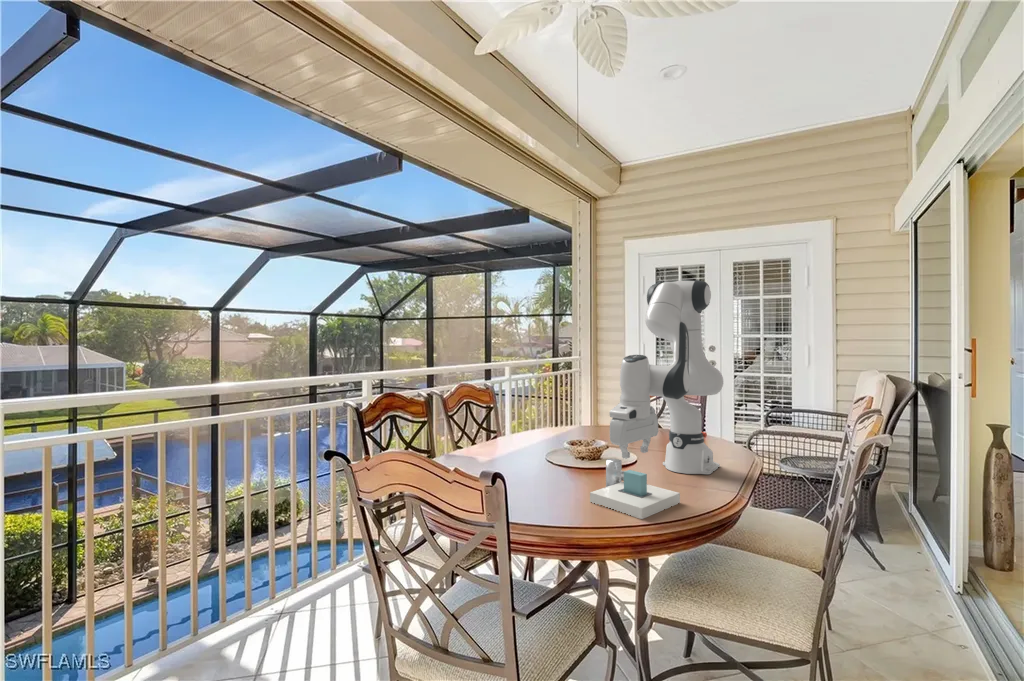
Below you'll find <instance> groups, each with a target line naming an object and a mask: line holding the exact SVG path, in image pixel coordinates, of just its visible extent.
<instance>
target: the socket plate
mask: <svg viewBox="0 0 1024 681" xmlns="http://www.w3.org/2000/svg"><path fill="white" fill-rule="evenodd" d="M591 502H592V503H591ZM589 503H591V504H594V503H595V504H594V505H597V504H599V505H598V506H600V505H603V506H605V507H604V508H606V507H608V508H607V509H609V508H611V509H610V510H612V509H614V510H613V511H615V510H617V511H616V512H618V511H620V512H619V513H621V512H622V513H621V514H624V513H626V514H625V515H627V514H628V516H630V515H631V516H630V517H633V518H637V519H639V520H643V519H646V518H648V517H651V516H653V515H655V514H657V513H659V512H662V511H664V509H665V510H667V509H669V508H671V506H672V507H674V506H676V505H678V503H679V504H680V503H681V493H680V492H678V491H673V490H670V489H666V488H663V487H659V486H655V485H651V484H648V483H647V495H644V496H638V495H634V494H631V493H627V492H624V481H622V482H620V483H617V484H614V485H611V486H608V487H606V486H605V487H602V488H600V489H596V490H594V491H590V492H589ZM603 506H602V507H603Z"/></svg>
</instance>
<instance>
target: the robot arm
mask: <svg viewBox="0 0 1024 681" xmlns="http://www.w3.org/2000/svg"><path fill="white" fill-rule="evenodd" d="M711 298H712V291H711V288H710V285H709V284H708V282H706V281H704V280H697V279H696V280H676V281H664V282H657V283H654V284H651V286H649V288H648V290H647V292H646V302H647V310H646V313H645V320H644V321H645V325H646V327H647V329H648V330H649V331H650V332H651V333H652V335H654V336H656V337H658V338H660V339H662V340H666V341H668V342H669V345H670V350H671V352H672V354H673V355H672V356H673V357H672V363H671V364H669V365H668V364H667V365H663V364H662V365H661V364H660V365H658V364H650V363H649V359H648V356H647V355H643V354H631V355H627V356H625V357H623V358H622V361H621V364H620V370H619V371H620V374H619V386H620V390H621V392H620V397H619V403H618V404H616V405H615V406H614V407H613V408H612V409H610V410H609V417H610V418H611V419H610V422H609V441H610V442H611V444H612V445H614V446H619V449H620V451H621V458H622V459H625V460H626V459H629V458H630V457H631V452H630V451H629V450H628V447H629V444H632V443H635V442H638V441H642V444H641V446H640V452H641V453H642V454H646V453H648V452H649V447H650V443H651V438H653V437H656V436H658V433H659V421H658V415H657V413H656V410H655V408H654V406H653V405H651V397H661V398H662V399H663V400H664V401H665V403H666V406H667V408H668V412H669V420H670V421H669V422H670V423H669V424H670V425H669V426H670V427H669V428H670V430H668V431H669V432H668V441H669V442H668V443H667V444H666V449H665V461H662V465H663V466H665V469H667V470H668V471H671V472H675V473H680V474H687V475H711V474H712V473H714V472H715V471H716V470H717V469H719V468H720V466H721V465H720V463H718V462H715V461H714V453H713V450H712V449H711V448H710V447H709V446H708V445H707V444H706V443H705V438H707V436H708V433H707V431H705V432H704V431H702V418H703V416H702V415H703V414H702V413H701V410H700V409H699V408H698V407H696V406H695V405H693V404H691V403H689V402H688V401H686V399H685V396H697V397H699V396H700V397H705V396H706V397H707V396H713V395H718V394H719V393H720V392H721V391H722V390H723V389H722V388H723V386H724V377H723V375H722V373H721V371H720V370H719V369H718V368H716V367H715V366H714V365H713V364H711V362H710V360H708V359H707V357H706V355H705V353H704V350H703V339H702V334H703V333H702V316H701V313H702V312H703V311H704V310H705V309H706V308H708V306H709V305H710V303H711ZM718 467H719V468H718ZM713 471H714V472H713Z"/></svg>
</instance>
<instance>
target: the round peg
mask: <svg viewBox="0 0 1024 681" xmlns="http://www.w3.org/2000/svg"><path fill="white" fill-rule="evenodd" d="M622 465H623V464H622V460H621V459H618V458H607V459H606V460H605V487H608V486H611V485H614V484H617V483H620V482H623V480H622V471H623V470H622V469H623V468H622V467H623V466H622Z"/></svg>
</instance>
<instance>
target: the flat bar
mask: <svg viewBox="0 0 1024 681" xmlns="http://www.w3.org/2000/svg"><path fill="white" fill-rule="evenodd" d="M623 471H624V480H623V482H624V492H627V493H631V494H634V495H638V496H644V495H647V484H648V483H647V482H648V474H647V473H645V472H641V471H640V472H639V471H635V470H631V469H628V470H623Z"/></svg>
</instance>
